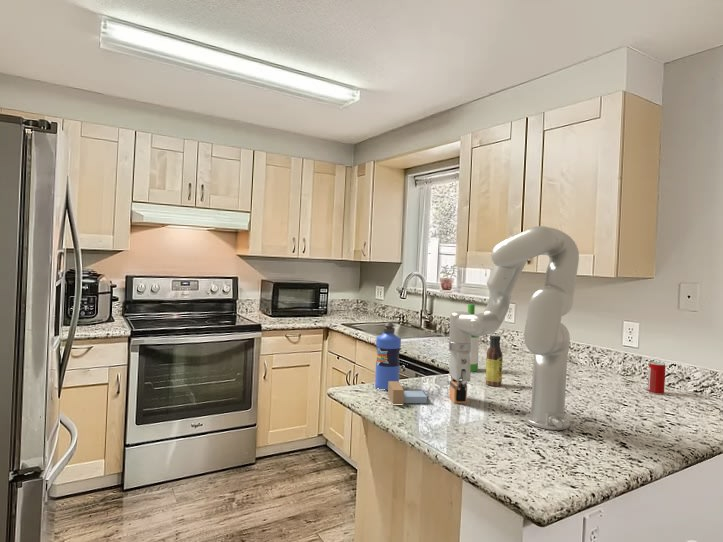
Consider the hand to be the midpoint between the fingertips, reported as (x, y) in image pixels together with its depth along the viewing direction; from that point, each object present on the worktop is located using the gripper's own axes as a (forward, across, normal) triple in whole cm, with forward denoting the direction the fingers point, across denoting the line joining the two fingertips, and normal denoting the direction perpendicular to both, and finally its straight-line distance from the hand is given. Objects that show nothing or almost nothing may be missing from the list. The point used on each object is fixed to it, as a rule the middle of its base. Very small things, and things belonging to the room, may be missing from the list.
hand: (457, 397), depth 160 cm
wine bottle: (+1, +45, -19) cm, 49 cm away
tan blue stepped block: (+1, 0, +18) cm, 18 cm away
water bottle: (+1, +16, +23) cm, 28 cm away
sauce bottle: (+1, +21, -21) cm, 30 cm away
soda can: (+1, +11, -83) cm, 84 cm away
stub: (+1, 0, 0) cm, 1 cm away
